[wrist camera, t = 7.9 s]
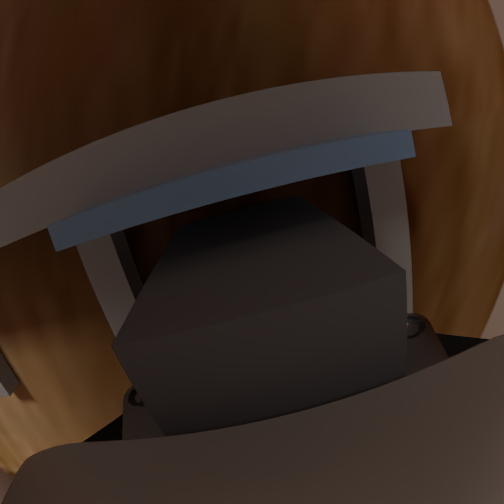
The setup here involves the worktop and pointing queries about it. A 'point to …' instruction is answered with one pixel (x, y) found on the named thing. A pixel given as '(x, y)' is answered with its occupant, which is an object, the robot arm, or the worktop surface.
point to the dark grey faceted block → (263, 319)
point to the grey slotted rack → (227, 171)
